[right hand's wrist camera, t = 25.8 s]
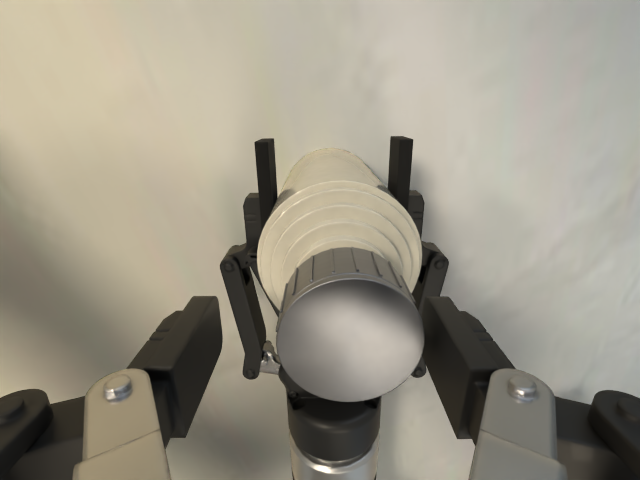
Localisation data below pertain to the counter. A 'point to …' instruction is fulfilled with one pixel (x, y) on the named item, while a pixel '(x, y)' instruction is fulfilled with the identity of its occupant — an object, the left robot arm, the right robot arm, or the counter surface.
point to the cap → (348, 326)
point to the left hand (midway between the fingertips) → (332, 139)
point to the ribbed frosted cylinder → (334, 220)
